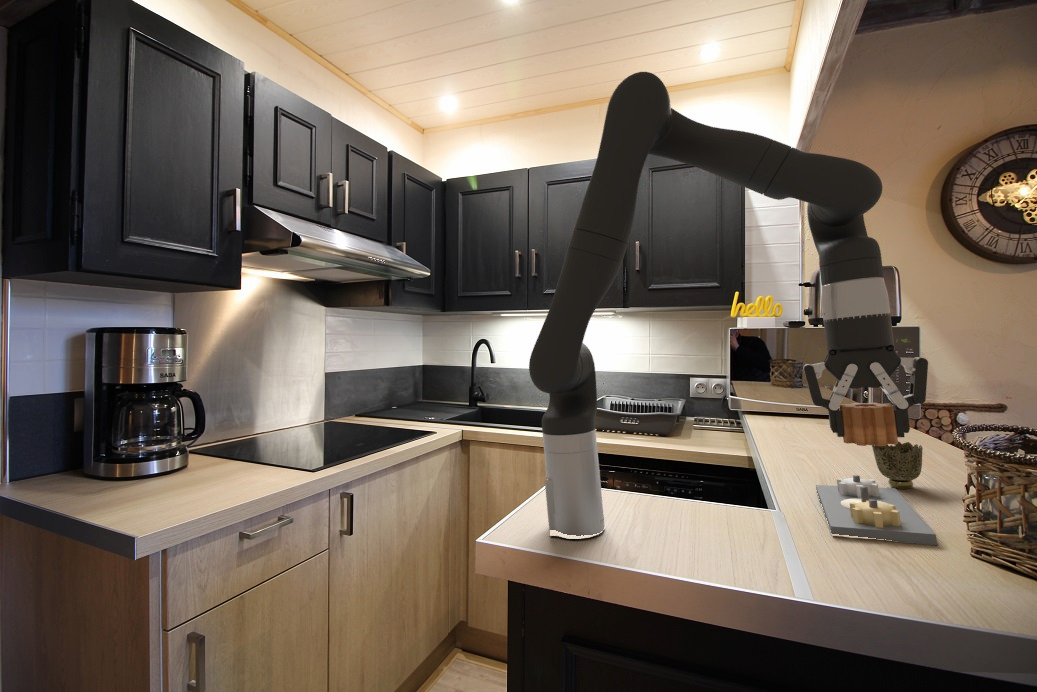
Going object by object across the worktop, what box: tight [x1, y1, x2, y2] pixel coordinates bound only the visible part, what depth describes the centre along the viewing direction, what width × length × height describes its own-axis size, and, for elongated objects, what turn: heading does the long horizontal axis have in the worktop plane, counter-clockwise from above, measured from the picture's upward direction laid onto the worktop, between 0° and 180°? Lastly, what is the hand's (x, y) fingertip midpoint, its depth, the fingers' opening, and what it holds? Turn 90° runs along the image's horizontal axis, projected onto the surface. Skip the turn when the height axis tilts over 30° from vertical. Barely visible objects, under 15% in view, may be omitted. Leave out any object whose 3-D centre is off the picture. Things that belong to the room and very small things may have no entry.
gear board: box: [815, 474, 938, 546], centre depth 75 cm, size 22×12×4 cm, turn 152°
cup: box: [871, 440, 923, 490], centre depth 87 cm, size 8×7×8 cm
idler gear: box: [839, 402, 899, 447], centre depth 63 cm, size 6×6×5 cm
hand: (869, 435), depth 63 cm, fingers closed on idler gear, 6 cm apart
